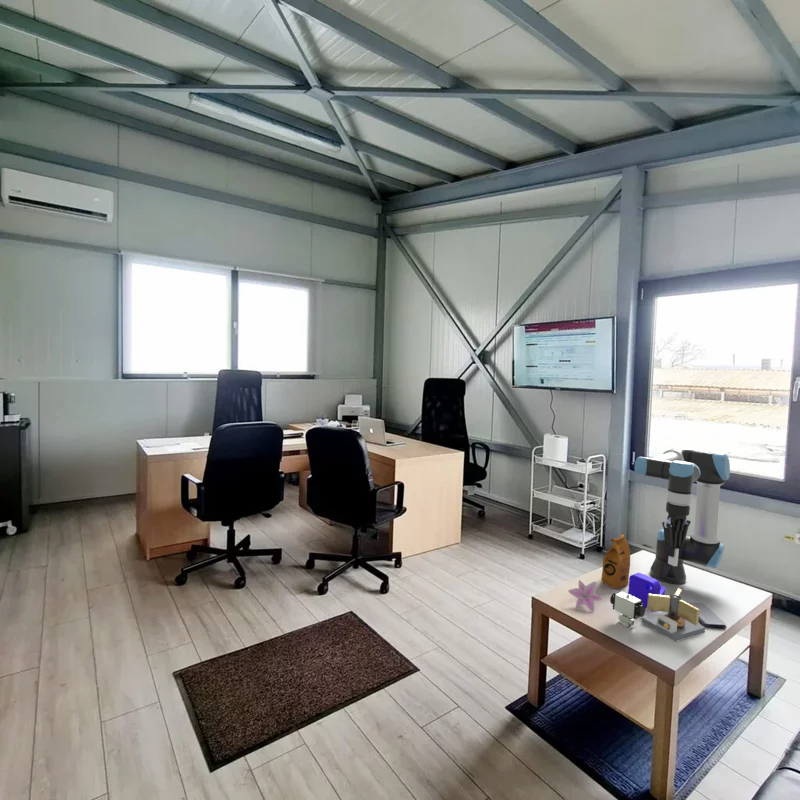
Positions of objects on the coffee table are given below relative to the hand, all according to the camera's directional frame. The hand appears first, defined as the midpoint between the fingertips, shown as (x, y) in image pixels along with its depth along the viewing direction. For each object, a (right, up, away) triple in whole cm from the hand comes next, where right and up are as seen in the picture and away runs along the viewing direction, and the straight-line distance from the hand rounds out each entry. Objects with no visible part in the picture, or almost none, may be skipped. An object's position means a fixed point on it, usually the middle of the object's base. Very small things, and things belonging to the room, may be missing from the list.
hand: (672, 564), depth 177 cm
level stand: (+3, -26, +6) cm, 27 cm away
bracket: (+6, -25, +27) cm, 37 cm away
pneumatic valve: (-14, -26, +7) cm, 30 cm away
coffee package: (-3, -23, +42) cm, 48 cm away
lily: (-25, -24, +20) cm, 40 cm away
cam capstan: (+1, -24, +6) cm, 25 cm away
